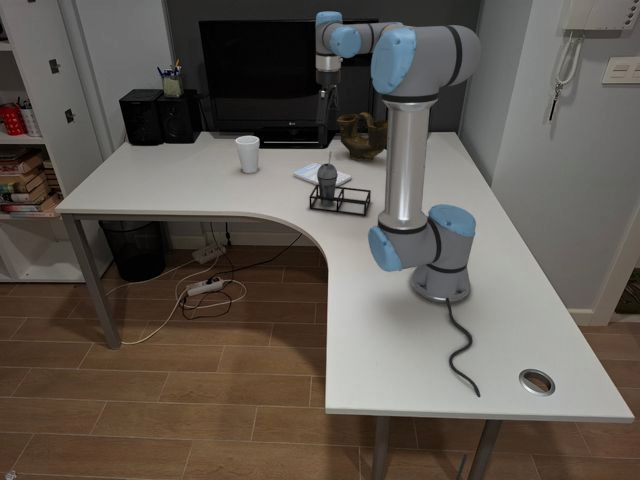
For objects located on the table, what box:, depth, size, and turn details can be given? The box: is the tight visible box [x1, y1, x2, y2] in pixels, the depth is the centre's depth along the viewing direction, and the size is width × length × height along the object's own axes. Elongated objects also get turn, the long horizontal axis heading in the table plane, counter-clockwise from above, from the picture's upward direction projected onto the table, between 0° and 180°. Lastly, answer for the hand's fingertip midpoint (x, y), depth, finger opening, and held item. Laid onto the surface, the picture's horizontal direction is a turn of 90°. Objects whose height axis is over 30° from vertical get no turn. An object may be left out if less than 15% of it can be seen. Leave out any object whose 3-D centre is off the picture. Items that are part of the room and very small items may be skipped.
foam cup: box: [234, 135, 260, 174], centre depth 181 cm, size 10×9×13 cm
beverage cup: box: [317, 150, 338, 208], centre depth 154 cm, size 7×7×20 cm
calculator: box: [293, 162, 352, 187], centre depth 178 cm, size 13×20×2 cm, turn 49°
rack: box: [308, 184, 372, 217], centre depth 157 cm, size 10×20×5 cm, turn 76°
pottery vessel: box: [337, 111, 388, 162], centre depth 190 cm, size 25×11×20 cm, turn 54°
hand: (327, 136), depth 146 cm, fingers open, 13 cm apart
